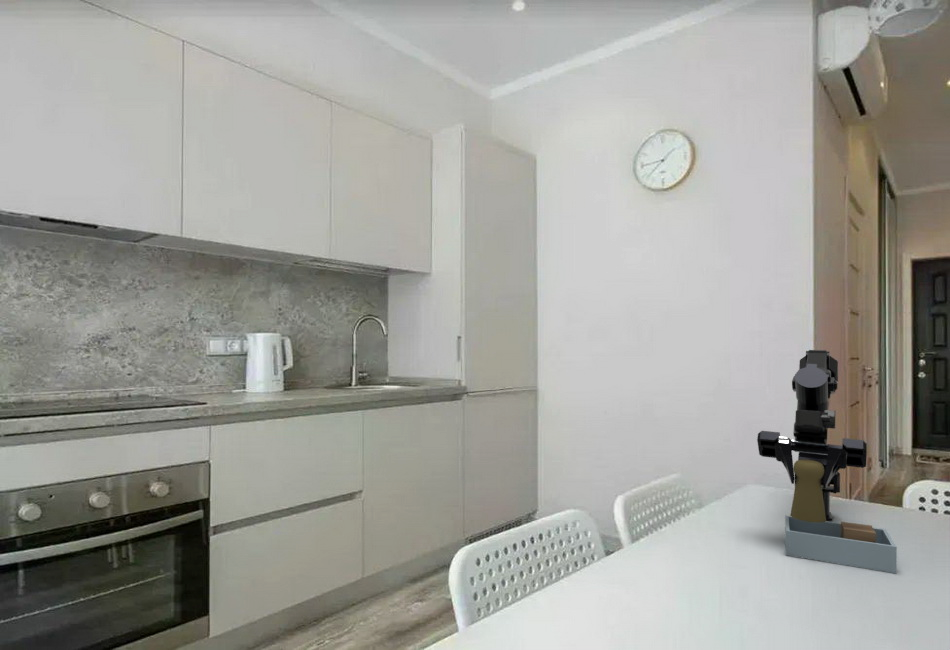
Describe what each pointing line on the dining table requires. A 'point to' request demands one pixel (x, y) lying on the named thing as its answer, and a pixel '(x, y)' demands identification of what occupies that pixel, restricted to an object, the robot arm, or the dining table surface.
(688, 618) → the dining table surface
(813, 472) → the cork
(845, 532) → the walnut cube
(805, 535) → the tote
